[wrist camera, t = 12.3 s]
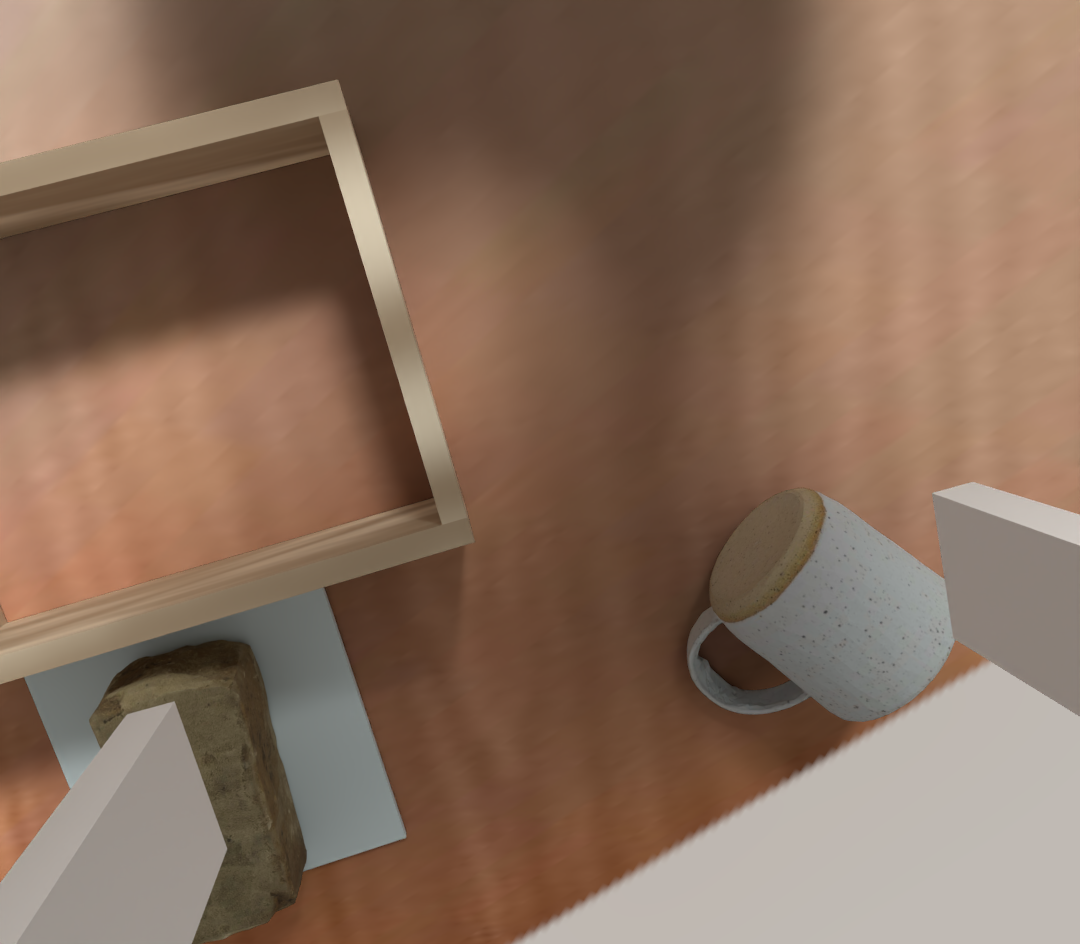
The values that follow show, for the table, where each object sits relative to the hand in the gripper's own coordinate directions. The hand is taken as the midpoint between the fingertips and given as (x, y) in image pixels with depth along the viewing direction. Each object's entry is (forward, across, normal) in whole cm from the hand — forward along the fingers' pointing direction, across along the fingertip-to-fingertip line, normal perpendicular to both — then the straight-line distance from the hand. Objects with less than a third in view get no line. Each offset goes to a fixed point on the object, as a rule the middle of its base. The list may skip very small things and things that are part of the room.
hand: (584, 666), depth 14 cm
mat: (+24, -15, -10) cm, 30 cm away
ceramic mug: (+24, +12, -11) cm, 29 cm away
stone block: (+24, -15, -10) cm, 30 cm away
